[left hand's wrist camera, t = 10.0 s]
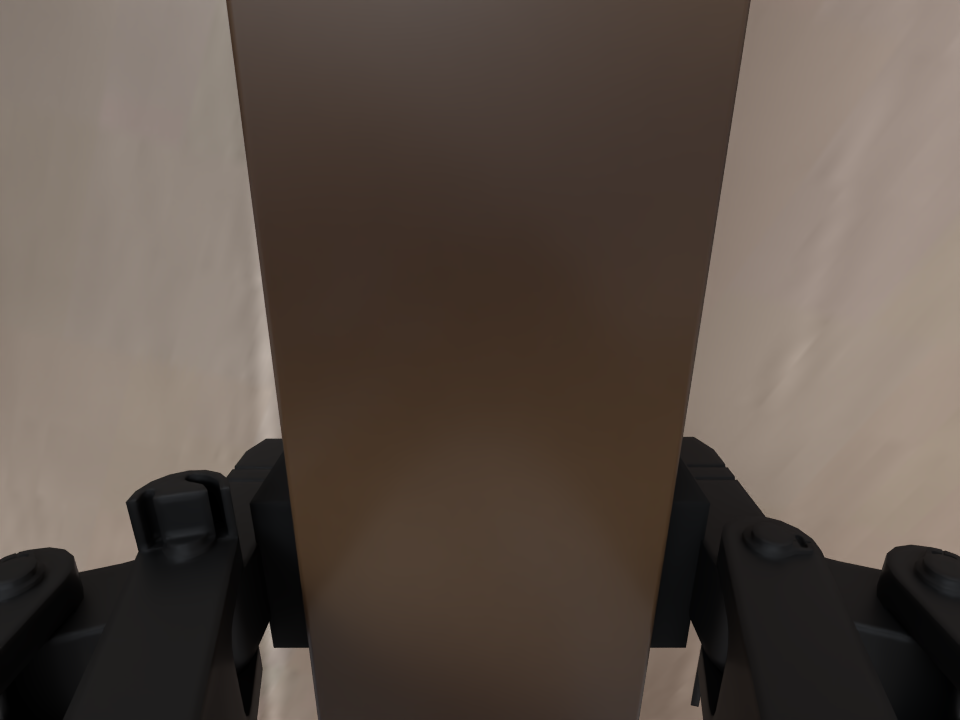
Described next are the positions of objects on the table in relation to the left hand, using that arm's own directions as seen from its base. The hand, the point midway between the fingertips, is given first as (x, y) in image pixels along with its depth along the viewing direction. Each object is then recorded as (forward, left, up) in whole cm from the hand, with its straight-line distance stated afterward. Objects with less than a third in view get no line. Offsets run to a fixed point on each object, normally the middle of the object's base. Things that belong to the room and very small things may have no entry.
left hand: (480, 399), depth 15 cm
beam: (+19, +9, 0) cm, 21 cm away
